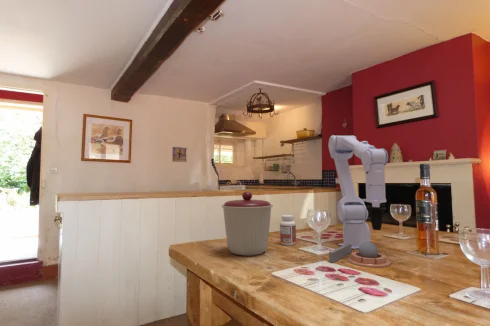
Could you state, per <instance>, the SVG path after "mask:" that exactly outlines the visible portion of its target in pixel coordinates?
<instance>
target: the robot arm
mask: <svg viewBox="0 0 490 326" xmlns="http://www.w3.org/2000/svg"><path fill="white" fill-rule="evenodd" d="M328 151H329V154H330V158H331V159H333V160H334V165H335V169H336V174H337V177H338V183H339V187H340V191H341V195H342V196H341V199H340V200H338V202H337V204H336V206H337V208H336V209H337V213H336V215H337V218H338V219H339V220H340V222H341V223H342V241H343V242H341V243H338V244H337V245H338V246H340V247H341V246H343V245H346V244H348V243H349V244H351V248H352V249H353V250H355V249H356V250H358V249H359V246H360V244H362V243H363V242H367V241H368V242H371V228H370V226H369V224H368V223H366V221H367V219H368V217H369V219H370V222H371V227H372V230H373V231H381V230H382V225H383V218H384V215H385V212H386V210H387V208H386V204H383V203H387V198H386V176H385V174H386V173H385V167H386V165H387V164H388V161H389V155H388V151H387V150H386V149H385V148H384V147H382V148H377V147H375V145H371V144H369V141H367V140H363V141H359V140H357V136H355V135H334V134H332V135H331V136H330V137H329V139H328ZM353 155H354V156H355V157H356V158H358V159H359V160H361V164H362V167H363V171H364V174H365V197H366V198H360V197H359V196H358V195H357V194H356V189H355V185H354V182H353V177H352V173H351V169H350V164H349V159H351V158H352V157H353ZM366 203H370V204H367V205H365V204H366Z"/></svg>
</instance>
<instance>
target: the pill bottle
mask: <svg viewBox="0 0 490 326" xmlns="http://www.w3.org/2000/svg"><path fill="white" fill-rule="evenodd" d="M294 219H295V217H294V215H293V214H292V215H291V214H282V215H281V221H280V222H279V232H280V233H279V239H280V240H279V241H280V245H283V246H294V245H296V244H297V228H296V227H297V226H296V222H295V221H294Z"/></svg>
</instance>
